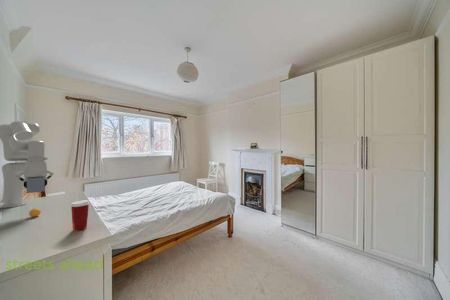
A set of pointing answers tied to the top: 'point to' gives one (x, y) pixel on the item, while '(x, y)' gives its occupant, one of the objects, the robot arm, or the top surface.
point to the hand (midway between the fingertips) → (35, 186)
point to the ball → (34, 212)
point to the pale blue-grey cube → (35, 184)
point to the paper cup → (79, 214)
